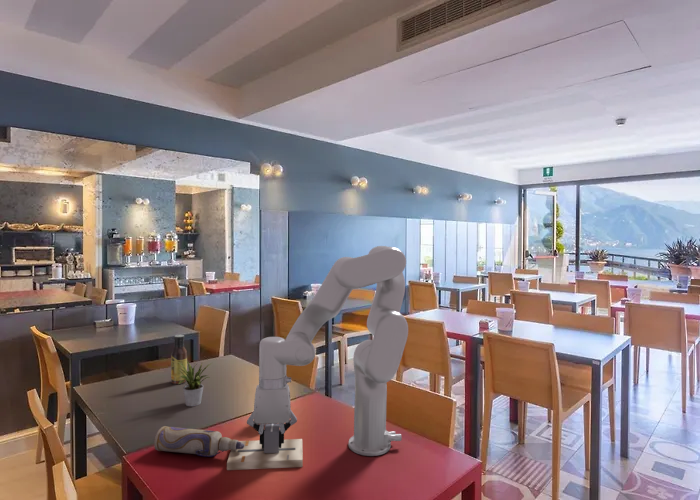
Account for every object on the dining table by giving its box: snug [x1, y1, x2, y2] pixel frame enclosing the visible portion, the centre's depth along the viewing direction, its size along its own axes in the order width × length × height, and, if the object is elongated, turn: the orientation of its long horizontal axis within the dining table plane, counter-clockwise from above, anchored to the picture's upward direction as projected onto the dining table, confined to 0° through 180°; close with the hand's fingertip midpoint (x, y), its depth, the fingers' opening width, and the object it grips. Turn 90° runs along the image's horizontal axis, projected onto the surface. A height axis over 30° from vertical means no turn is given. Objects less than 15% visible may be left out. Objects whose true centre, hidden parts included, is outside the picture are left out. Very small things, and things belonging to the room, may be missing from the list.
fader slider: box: [264, 423, 280, 453], centre depth 123 cm, size 4×5×6 cm
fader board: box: [226, 438, 304, 471], centre depth 123 cm, size 20×12×2 cm, turn 97°
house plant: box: [175, 360, 213, 407], centre depth 160 cm, size 14×14×16 cm
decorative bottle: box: [153, 425, 244, 458], centre depth 123 cm, size 26×8×7 cm, turn 79°
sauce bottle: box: [170, 334, 188, 385], centre depth 182 cm, size 7×6×20 cm
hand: (271, 445), depth 123 cm, fingers closed on fader slider, 4 cm apart
